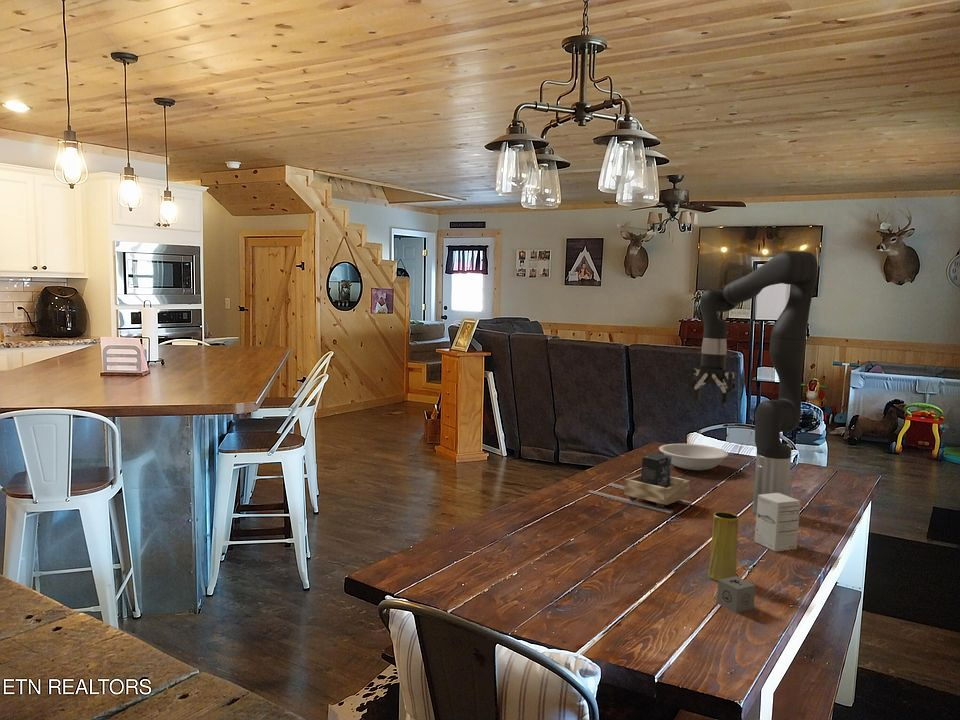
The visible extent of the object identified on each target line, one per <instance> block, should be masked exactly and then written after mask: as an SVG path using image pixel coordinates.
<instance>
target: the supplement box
mask: <svg viewBox="0 0 960 720" xmlns="http://www.w3.org/2000/svg"><path fill="white" fill-rule="evenodd" d="M801 502H802V501H801V500H799V499H798V498H797V499H796V498H793V497H789V496H786V495H783V494H781V493H770V494H761V495H758V503H757V514H756V515H755V516H756V519H755V530H754V531H755V532H754V543H757V544H759V545H761V546H763V547H765V548H767V549H768V550H771V551H772V552H785V551H790V550H791V549H792V550H796V549H797V548H798V547H797V546H798V538H799V537H798V536H799V535H798V534H799V526H800V525H799V524H800V523H799V522H800V513H801ZM784 550H785V551H784Z"/></svg>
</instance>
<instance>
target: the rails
mask: <svg viewBox="0 0 960 720" xmlns="http://www.w3.org/2000/svg"><path fill="white" fill-rule="evenodd" d="M608 485H609V486H608V487H610V486H612V487H611V488H614V487H615V489H618V488H619V489H620V490H622V491H624V487H625V485H620V484H616V483H613V482H610V483H608ZM588 492H589V493H593V494H597V495H600V496H599V497H601V496H604V497H603V498H605V497H607V498H606V499H609V498H611V499H610V500H613V499H614V501H617V500H618V501H617V502H621V503H626V504H631V505H633V506H637V507H640V508H645V509H649V510H653V511H657V512H662V513H664V514H665V513H666V514H670V515H671V514H674V510H673V509H669V508H666V507H662V508H659V507H658V506H657V505H653V504H649V503H645V502H641V501H636V500H635V501H631V500H630V498H629V499H628V498H624V497H620V496H618V495H617V496H616V495H612V494H608V493H605V492H601V491H597V490H594V489H593V490H592V489H590V490H587V493H588ZM589 493H588V494H589ZM593 494H592V495H593ZM597 495H596V496H597ZM677 502H678V503H677ZM674 503H677V504H681V505H686V506H692V505H693V502H692V501H689V500H685V499H680V500H677V501H675V502H674Z"/></svg>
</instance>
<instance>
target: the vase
mask: <svg viewBox="0 0 960 720" xmlns="http://www.w3.org/2000/svg"><path fill="white" fill-rule="evenodd" d="M711 532H712V533H711V534H712V535H711V548H710V555H709V562H708V570H707V577H708V578H709V579H711V580H713V581H715V582H718V580H720V579H725V578H730V577H734V576H737V564H738V560H737V558H738V533H739V515H737V514H735V513H732V512H728V511H716V512H714V513H713V516H712V531H711Z"/></svg>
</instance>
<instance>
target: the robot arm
mask: <svg viewBox="0 0 960 720" xmlns="http://www.w3.org/2000/svg"><path fill="white" fill-rule="evenodd" d="M817 274H818V261H817V257H816V256H815V255H814V254H813V253H812V252H809V251H800V250H785V251H781V252H779V253H777V254H776V255H774V256H773V257H772V258H770V259H769V260H767V261H766V262H765V263H763V264H762V265H760V266H759V267H758V268H756V269H754V270H753V271H752V272H750V273H748V274H746V275H744V276H742V277H739V278H738V279H735V280H733V281H731V282H729V283H728V284H726V285H725V286H724V288H723V289H715V288H714V289H711V288H710V289H706V290H705V291H703V292H702V294H701V296H700V299H699V306H700V311H701V312H700V313H701V317H702V322H703V335H702V336H703V337H702V343H701V349H700V350H701V356H700V357H701V358H700V369H697V368H691V369H690V375H689V384H688V386H689V387H690V388H692V389H694V399H695V402H701V401H702V387H703V386H704V385H706V384H707V385H709V384H710V385H715V386H716V385H717V386H718V387H719V388H720V391H721V392H722V393H721V399H720V400H721V402H720V403H721V405H723V406H724V405H727V403H728V402H729V394H730V393H731V392H735V390H736V373H735V372H733V371H732V372H727V371H726V365H727V364H726V362H727V349H728V348H727V347H728V346H727V344H728V343H727V336H728V323H727V321H726V320H724V319H720V318H719V316H718V313H726V312H729V311H732V310H734V309H735V308H736V307H737V306H739V305H740V304H742V303H744V302H747V301H750V300H751V299H754V298H755V297H757V296H758V295H759V294H760V293H761V291H762V290H763V289H765V288H766V287H769V286H775V285H779V284H780V285H781V284H783V285H790V287H789V288H790V289H789V295H788V299H787V300H788V301H787V302H786V305H785V306H784V309H783V311H782V312H781V313H780V315H779V317H778V318H777V319H776V320H775V321H776V322H775V323H774V324H773V327H772V330H771V333H770V341H769V351H768V352H769V357H770V360H771V363H772V365H773V367H774V370H775V372H776V374H777V376H778V377H777V378H778V381H779V382H778V383H779V390H778V399H771V400H770V399H768V400H763V401H761V402H760V403H759V404H758V406H757V407H756V410H755V415H754V443H755V447H756V457H755V470H754V484H753V485H754V486H753V496H752V497H753V498H752V513H754V514H755V515H757V503H758V495H761V494H770V493H781V494H783V495H786V496H789V497H791V496H792V495H791V494H792V482H790V477H791V475H790V474H791V463H792V462H791V459H792V448H791V446H789V445H787V444H785V443H782V441H781V437H780V435H781V433H788V432H793V431H795V430H796V429H797V428H798V426H799V425H800V423H801V417H802V381H803V380H802V379H803V368H804V367H803V366H804V360H805V359H804V358H805V351H806V344H807V332H808V326H809V325H808V323H809V316H810V309H811V304H812V299H813V295H814V291H815V285H816V280H817V276H818V275H817ZM698 376H700V377H701V378H700V379H699V380H698ZM725 378H726V379H727V383H726V381H725V380H724V379H725ZM697 380H698V381H697ZM791 498H792V497H791Z"/></svg>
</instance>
